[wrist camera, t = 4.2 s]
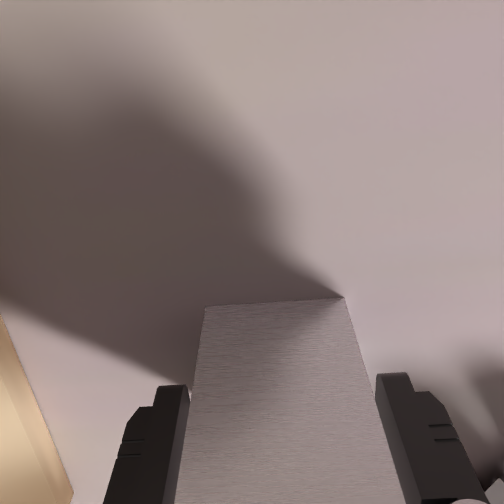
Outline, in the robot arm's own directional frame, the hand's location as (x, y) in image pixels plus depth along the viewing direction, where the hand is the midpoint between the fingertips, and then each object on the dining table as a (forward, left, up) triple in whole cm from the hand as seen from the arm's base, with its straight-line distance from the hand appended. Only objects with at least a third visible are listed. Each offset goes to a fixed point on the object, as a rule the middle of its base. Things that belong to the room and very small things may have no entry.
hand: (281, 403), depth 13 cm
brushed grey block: (0, 0, -2) cm, 2 cm away
